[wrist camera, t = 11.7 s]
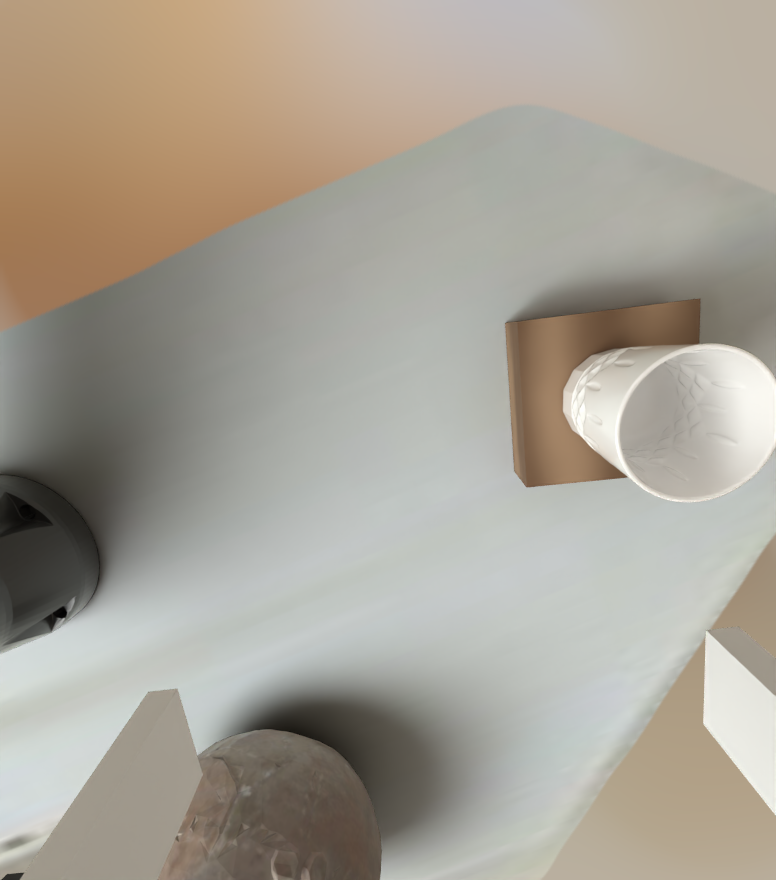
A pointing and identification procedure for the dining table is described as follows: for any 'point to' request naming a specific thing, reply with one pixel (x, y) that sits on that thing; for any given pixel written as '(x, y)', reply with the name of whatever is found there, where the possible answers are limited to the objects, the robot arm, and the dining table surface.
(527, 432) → the walnut plinth
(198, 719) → the dining table surface
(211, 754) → the clay pot
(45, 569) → the robot arm
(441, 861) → the dining table surface
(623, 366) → the white cup
